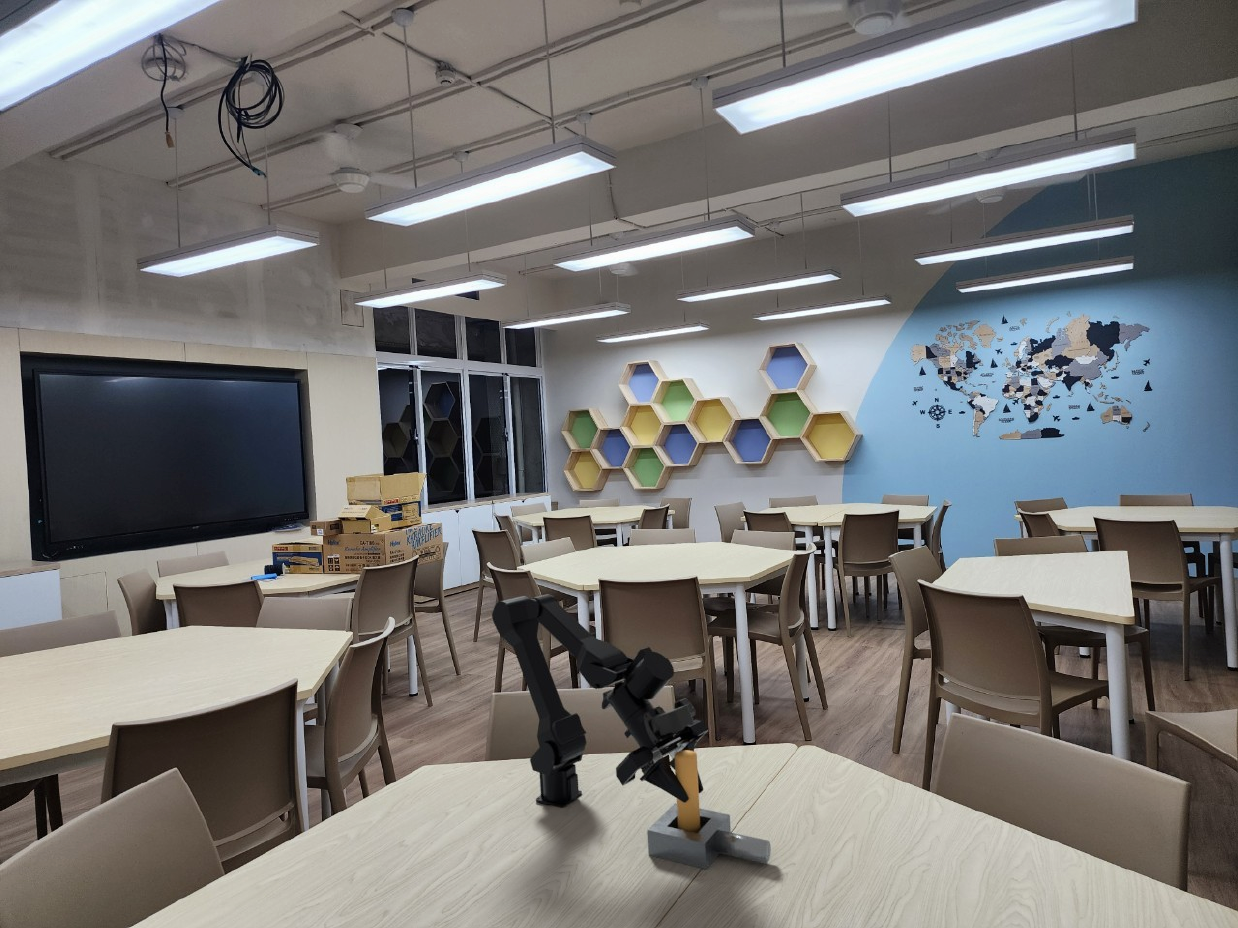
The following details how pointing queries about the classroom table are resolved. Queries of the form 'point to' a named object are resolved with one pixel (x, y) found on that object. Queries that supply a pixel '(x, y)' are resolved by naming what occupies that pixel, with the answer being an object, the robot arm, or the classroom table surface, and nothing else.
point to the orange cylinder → (688, 791)
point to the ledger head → (702, 840)
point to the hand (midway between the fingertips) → (694, 796)
